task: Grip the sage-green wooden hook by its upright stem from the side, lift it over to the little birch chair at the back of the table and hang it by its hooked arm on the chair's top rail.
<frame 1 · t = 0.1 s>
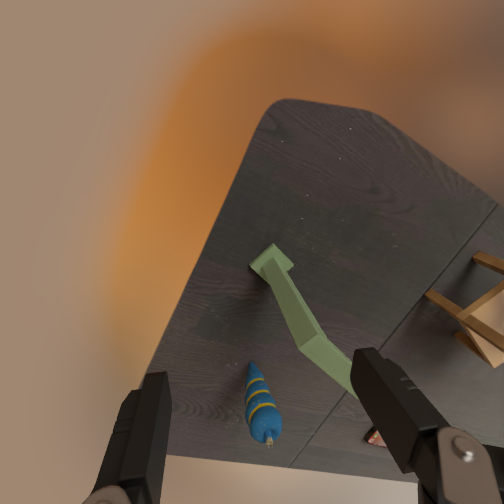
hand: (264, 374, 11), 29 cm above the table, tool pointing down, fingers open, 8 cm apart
ornament: (252, 362, 49), on the table
smartphone: (393, 433, 65), on the table
hook: (271, 263, 42), on the table
chair: (467, 298, 51), on the table
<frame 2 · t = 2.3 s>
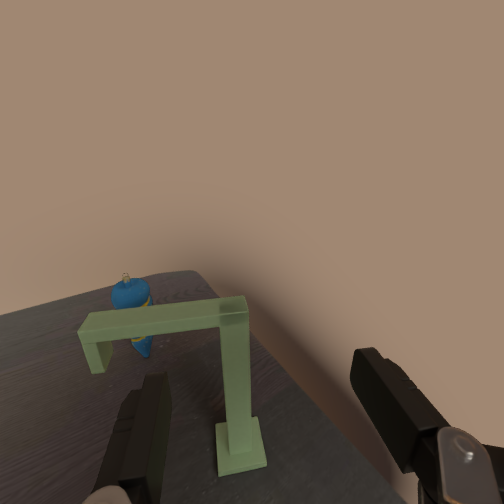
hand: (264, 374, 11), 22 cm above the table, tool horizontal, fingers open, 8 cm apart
ornament: (145, 358, 42), on the table
hook: (239, 446, 29), on the table
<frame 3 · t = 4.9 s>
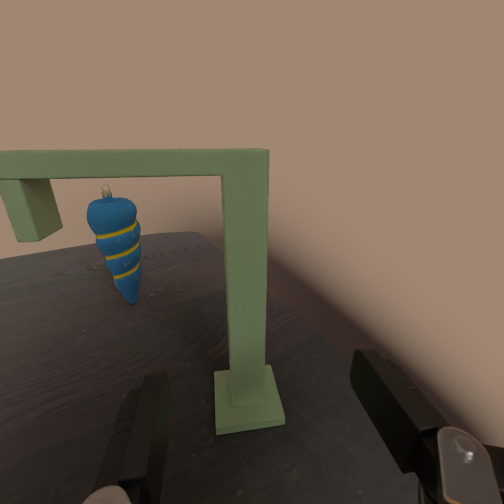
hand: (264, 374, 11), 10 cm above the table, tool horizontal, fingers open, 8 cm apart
ornament: (132, 305, 34), on the table
hook: (246, 399, 21), on the table
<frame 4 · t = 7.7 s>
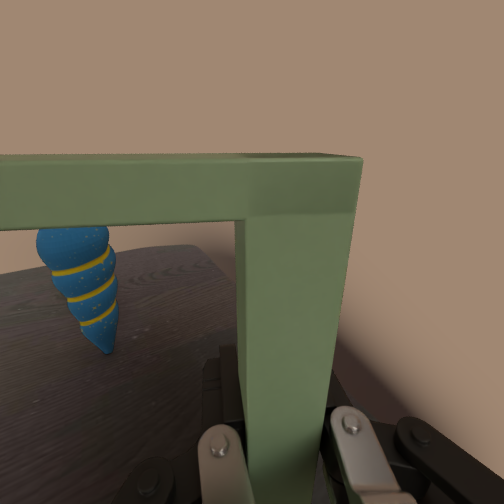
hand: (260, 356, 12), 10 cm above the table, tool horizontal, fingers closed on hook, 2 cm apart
ornament: (107, 355, 26), on the table
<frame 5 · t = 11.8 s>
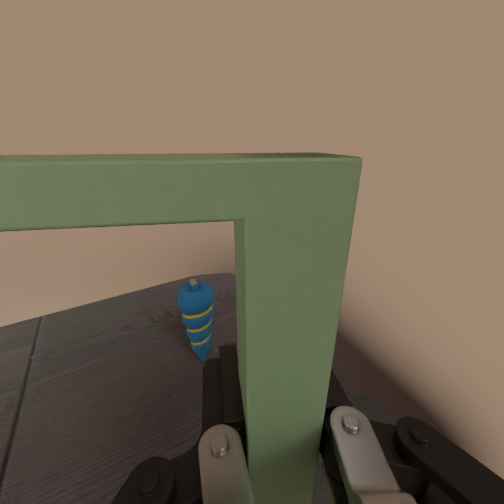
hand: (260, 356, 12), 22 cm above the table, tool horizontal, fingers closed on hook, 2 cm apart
ornament: (202, 362, 41), on the table
when the fingers open (17 cm above the table, at t = 16.0 s): hook drops 2 cm, resting on chair.
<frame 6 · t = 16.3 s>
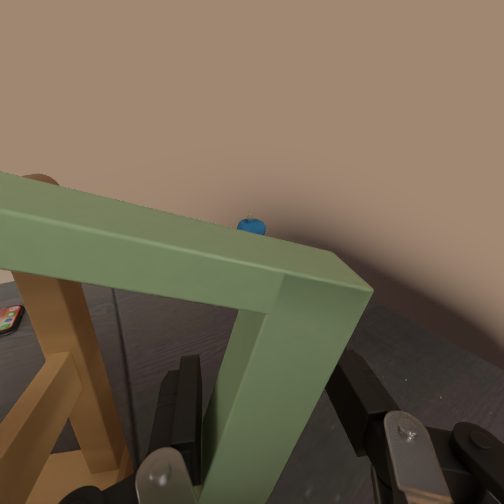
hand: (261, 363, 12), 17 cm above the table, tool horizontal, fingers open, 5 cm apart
ornament: (251, 288, 51), on the table
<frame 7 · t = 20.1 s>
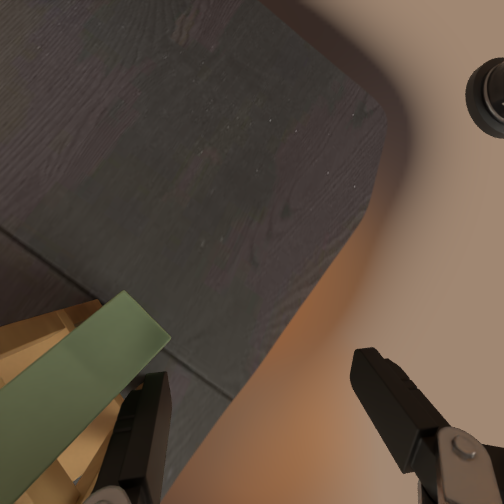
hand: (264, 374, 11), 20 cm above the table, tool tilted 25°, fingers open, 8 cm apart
hook: (108, 341, 24), point 5 cm above the table, tilted 24°, touching chair
chair: (59, 389, 28), on the table
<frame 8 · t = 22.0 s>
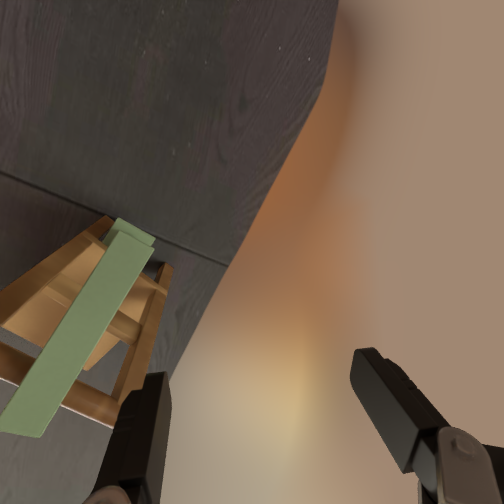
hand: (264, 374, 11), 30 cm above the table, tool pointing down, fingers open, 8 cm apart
hook: (126, 245, 34), point 5 cm above the table, tilted 24°, touching chair
chair: (106, 278, 40), on the table
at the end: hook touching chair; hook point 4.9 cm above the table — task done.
